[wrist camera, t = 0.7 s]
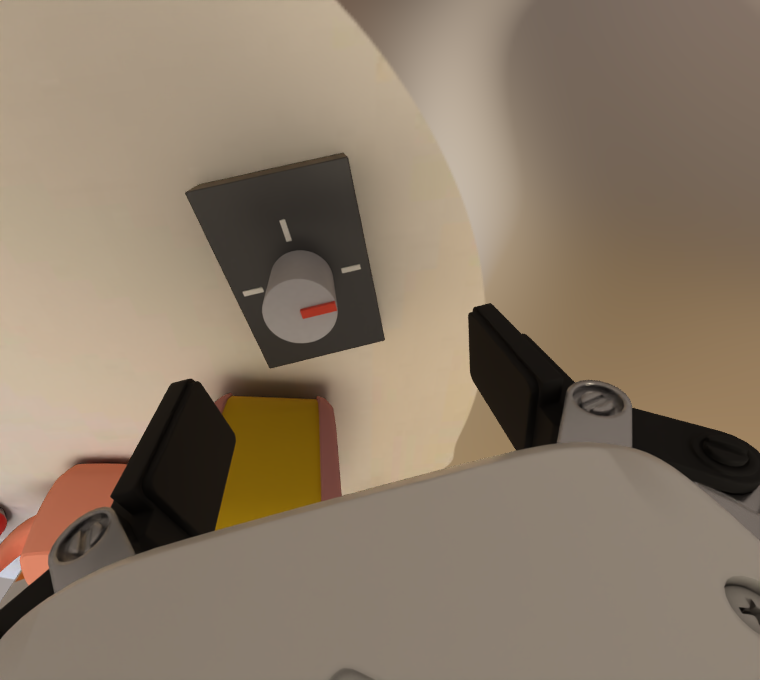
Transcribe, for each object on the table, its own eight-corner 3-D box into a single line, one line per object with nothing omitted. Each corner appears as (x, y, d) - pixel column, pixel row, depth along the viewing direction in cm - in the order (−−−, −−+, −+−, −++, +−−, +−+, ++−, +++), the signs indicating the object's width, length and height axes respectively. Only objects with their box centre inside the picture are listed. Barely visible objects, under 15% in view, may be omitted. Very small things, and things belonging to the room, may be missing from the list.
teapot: (208, 516, 42) (181, 617, 33) (30, 518, 37) (-54, 639, 28) (209, 458, 36) (178, 561, 28) (0, 451, 31) (-118, 576, 22)
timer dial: (283, 312, 25) (277, 353, 21) (261, 258, 22) (248, 291, 18) (339, 299, 25) (345, 336, 21) (324, 243, 23) (327, 272, 18)
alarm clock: (314, 485, 42) (316, 704, 26) (221, 488, 39) (160, 735, 24) (334, 373, 33) (357, 610, 17) (214, 366, 30) (105, 642, 14)
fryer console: (198, 184, 22) (183, 192, 19) (343, 152, 22) (348, 156, 20) (273, 348, 30) (269, 370, 27) (379, 322, 30) (385, 341, 28)
